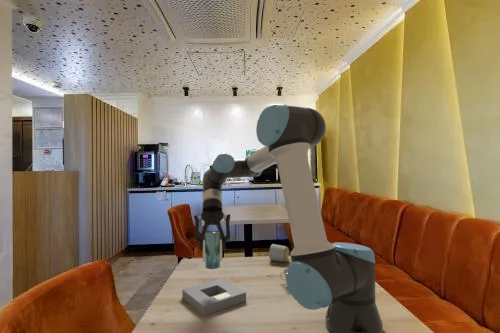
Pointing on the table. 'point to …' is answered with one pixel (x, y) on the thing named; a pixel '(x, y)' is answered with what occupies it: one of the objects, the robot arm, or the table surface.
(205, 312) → the socket block
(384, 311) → the table surface
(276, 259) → the ceramic mug
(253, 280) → the table surface
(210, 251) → the teal cylinder
